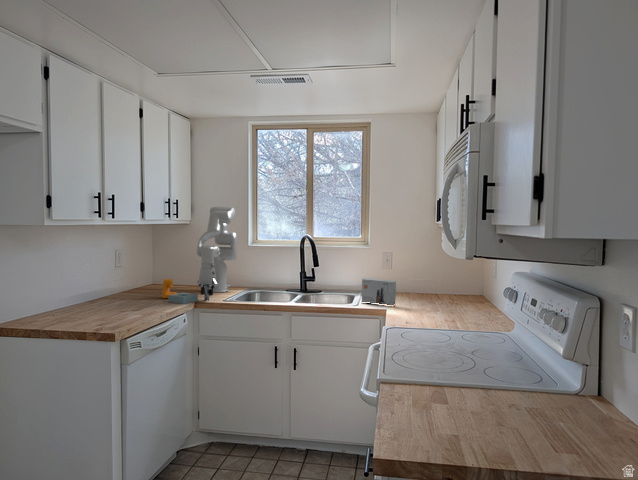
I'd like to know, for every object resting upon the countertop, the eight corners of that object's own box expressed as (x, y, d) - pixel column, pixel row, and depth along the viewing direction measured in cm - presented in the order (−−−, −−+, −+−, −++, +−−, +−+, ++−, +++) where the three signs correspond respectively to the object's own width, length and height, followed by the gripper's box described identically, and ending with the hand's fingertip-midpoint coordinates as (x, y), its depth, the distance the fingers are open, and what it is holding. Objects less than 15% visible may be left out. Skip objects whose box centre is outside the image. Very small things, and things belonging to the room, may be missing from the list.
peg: (206, 299, 269) (206, 283, 269) (210, 300, 268) (210, 284, 268) (203, 300, 267) (203, 284, 266) (207, 300, 265) (207, 284, 265)
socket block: (182, 298, 269) (183, 292, 269) (197, 300, 264) (197, 294, 264) (168, 301, 258) (168, 295, 258) (183, 303, 253) (183, 297, 253)
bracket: (173, 299, 268) (173, 280, 267) (161, 299, 267) (162, 280, 267) (177, 296, 278) (178, 278, 278) (166, 296, 278) (166, 277, 277)
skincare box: (360, 303, 270) (361, 278, 269) (364, 302, 274) (364, 277, 274) (393, 307, 260) (393, 281, 259) (395, 306, 265) (396, 280, 264)
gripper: (222, 266, 266) (221, 295, 267) (200, 264, 274) (200, 292, 274) (214, 267, 259) (213, 297, 260) (192, 265, 267) (192, 294, 267)
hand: (206, 294), depth 267 cm, fingers open, 5 cm apart
